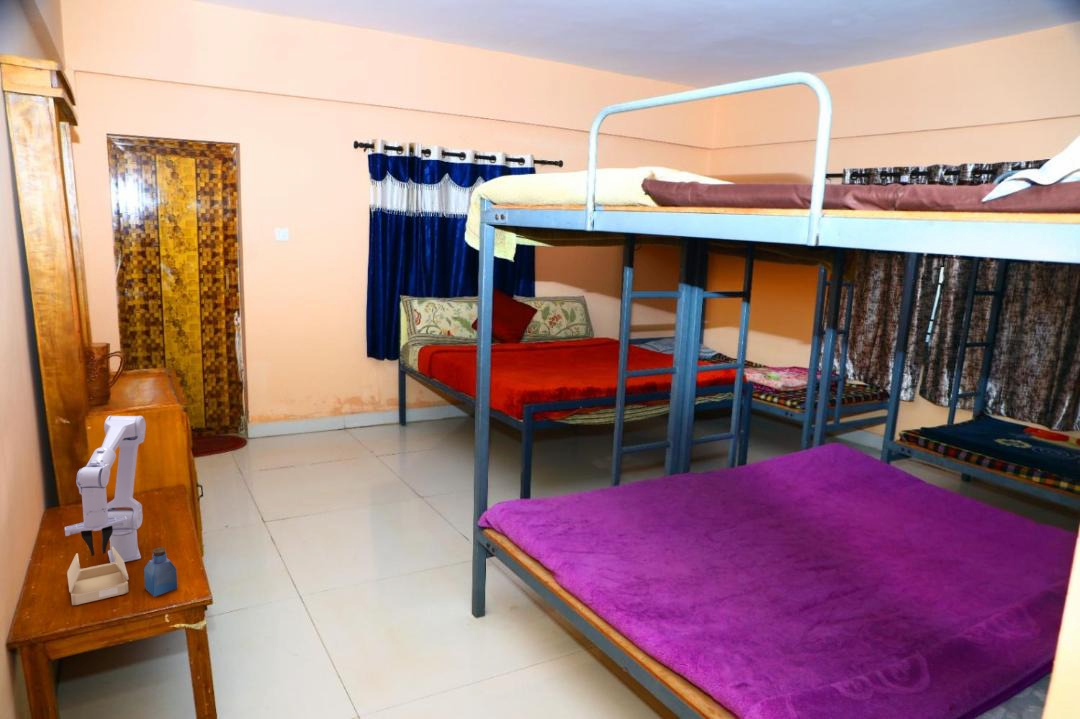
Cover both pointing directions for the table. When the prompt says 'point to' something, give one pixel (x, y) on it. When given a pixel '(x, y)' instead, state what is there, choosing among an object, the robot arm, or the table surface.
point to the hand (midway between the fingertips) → (98, 553)
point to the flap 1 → (73, 572)
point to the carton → (99, 584)
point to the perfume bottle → (160, 574)
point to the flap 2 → (120, 562)
